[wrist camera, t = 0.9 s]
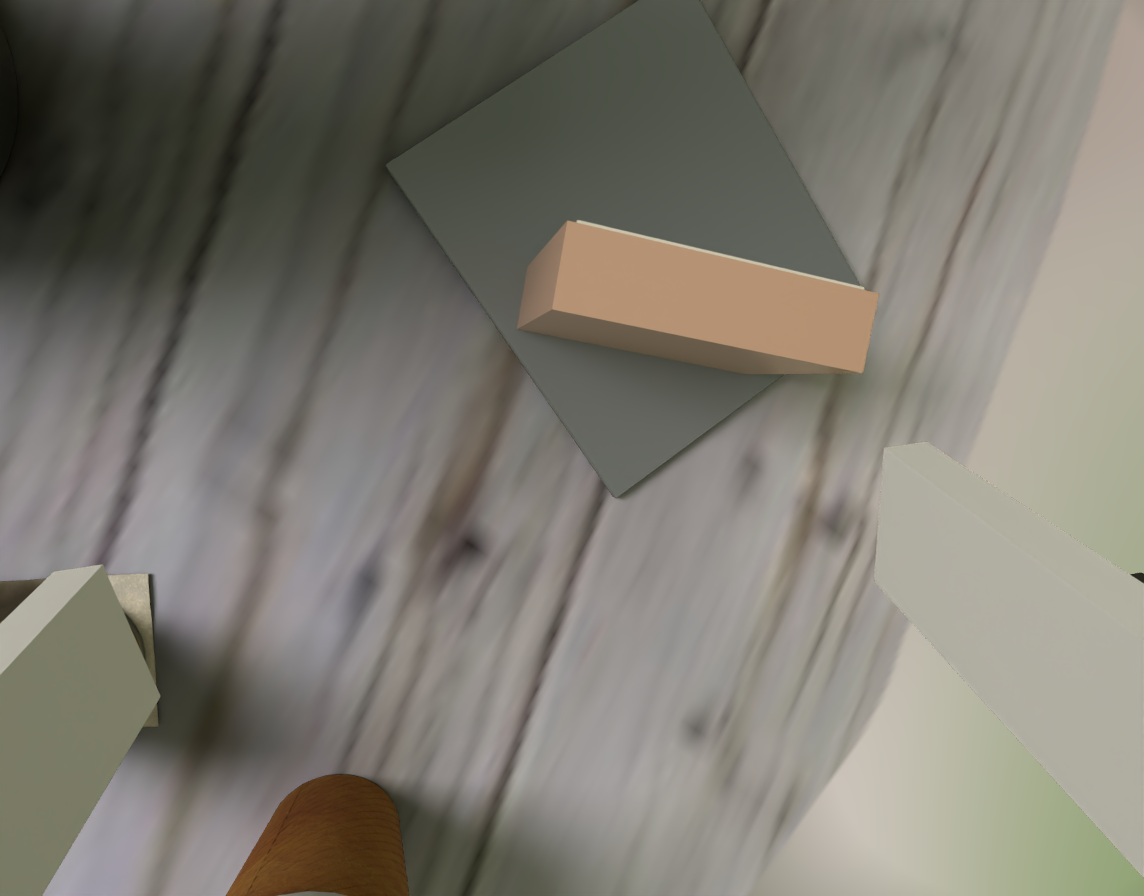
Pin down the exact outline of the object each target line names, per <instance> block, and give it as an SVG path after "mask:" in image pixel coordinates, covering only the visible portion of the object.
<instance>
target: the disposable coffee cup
mask: <svg viewBox="0 0 1144 896" xmlns="http://www.w3.org/2000/svg"><path fill="white" fill-rule="evenodd" d="M402 846H403V845H402V840H401V832H400V820H399V816H398V813H397V809H396V807H395V805H394V803H393V802H392V800H391V798H390V797H389V796H388V795H387V794H386V793H385V791H384V790H382V789H381V788H380V787H378V786H377V785H376V784H375V783H373V782H370V781H368V780H366V779H364V778H360V777H356V776H352V775H327V776H323V777H320V778H316V779H313V780H311V781H308V782H306V783H304V784H302V785H301V786H299V787H298V788H297V789H295V790H294V791H293V792H291V793H290V794H289V795H288V796H287V797H286V798H285V799H284V800H283V801H282V802H281V803H280V805H279V806H278V808H277V809H276V811H275V813H274V814H273V816H272V818H271V820H270V822H269V823H268V825H267V827H266V828H265V830H264V832H263V833H262V835H261V837H260V839H259V840H258V842H257V844H256V845H255V847H254V849H253V850H252V852H251V854H250V855H249V857H248V859H247V861H246V862H245V864H244V866H243V867H242V869H241V871H240V872H239V874H238V876H237V878H236V879H235V881H234V883H233V884H232V886H231V888H230V890H229V891H228V893H227V894H226V896H409V889H408V884H407V876H406V867H405V860H404V852H403V848H402Z"/></svg>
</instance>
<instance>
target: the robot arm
mask: <svg viewBox="0 0 1144 896" xmlns="http://www.w3.org/2000/svg"><path fill="white" fill-rule="evenodd" d="M17 116H18V92H17V82H16V74H15V69H14V64H13V59H12V56H11V52H10V49H9V45H8V43H7V40H6V37H5V34H4V32H3V29H2V27H1V25H0V177H1V175H2V173H3V171H4V168H5V166H6V163H7V161H8V159H9V156H10V152H11V149H12V146H13V142H14V137H15V132H16V125H17ZM874 582H875V583H876V584H877V585H878V586H879V587H880V588H881V590H882V591H883V592H884V593H885V594H886V595H887V596H888V597H889V598H890V599H891V601H892V602H893V603H894V604H895V605H896V606H897V607H898V608H899V609H900V610H901V612H902V613H903V614H904V615H905V616H906V617H907V618H908V619H909V620H910V621H911V623H912V624H913V625H914V626H915V627H916V628H917V629H918V630H919V631H920V632H921V634H922V635H923V636H924V637H925V638H926V639H927V640H928V641H929V642H930V643H931V645H932V646H933V647H934V648H935V649H936V650H937V651H938V652H939V653H940V654H941V655H942V656H943V658H944V659H945V660H946V661H947V662H948V663H949V664H950V665H951V667H952V668H953V669H954V670H955V671H956V672H957V673H958V674H959V675H960V676H961V677H962V679H963V680H964V681H965V682H966V683H967V684H968V685H969V686H970V687H971V688H972V690H973V691H974V692H975V693H976V694H977V695H978V696H979V697H980V698H981V700H982V701H983V702H984V703H985V704H986V705H987V706H988V707H989V708H990V709H991V711H992V712H993V713H994V714H995V715H996V716H997V717H998V718H999V719H1000V720H1001V721H1002V723H1003V724H1004V725H1005V726H1006V727H1007V728H1008V729H1009V730H1010V731H1011V733H1013V735H1014V736H1015V737H1016V738H1017V739H1018V740H1019V741H1020V742H1021V744H1022V745H1023V746H1024V747H1025V748H1026V749H1027V750H1028V751H1029V752H1030V753H1031V755H1032V756H1033V757H1034V758H1035V759H1036V760H1037V761H1038V762H1039V763H1040V764H1041V765H1042V767H1043V768H1044V769H1045V770H1046V771H1047V772H1048V773H1049V774H1050V775H1051V777H1053V779H1054V780H1055V781H1056V782H1057V783H1058V784H1059V785H1060V786H1061V788H1062V789H1063V790H1064V791H1065V792H1066V793H1067V794H1068V795H1069V796H1070V797H1071V799H1072V800H1073V801H1074V802H1075V803H1076V804H1077V805H1078V806H1079V807H1080V808H1081V810H1083V812H1084V813H1085V814H1086V815H1087V816H1088V817H1089V818H1090V819H1091V820H1092V822H1093V823H1094V824H1095V825H1096V826H1097V827H1098V828H1099V829H1100V830H1101V831H1102V833H1103V834H1104V835H1105V836H1106V837H1107V838H1108V839H1109V840H1110V841H1111V843H1112V844H1113V845H1114V846H1115V847H1116V848H1117V849H1118V850H1119V851H1120V852H1121V854H1122V855H1123V856H1124V857H1125V858H1126V859H1127V860H1128V861H1129V862H1130V863H1131V865H1132V866H1133V867H1134V868H1135V869H1136V870H1137V871H1138V872H1139V873H1140V874H1141V875H1142V877H1143V878H1144V574H1143V573H1135V574H1128V573H1127V572H1125V571H1124V570H1122V569H1121V568H1119V567H1118V566H1116V565H1115V564H1113V563H1111V562H1110V561H1108V560H1107V559H1105V558H1104V557H1102V556H1101V555H1099V554H1098V553H1096V552H1095V551H1093V550H1092V549H1090V548H1089V547H1087V546H1085V545H1084V544H1082V543H1081V542H1079V541H1078V540H1076V539H1075V538H1073V537H1072V536H1070V535H1069V534H1067V533H1065V532H1064V531H1063V530H1061V529H1059V528H1058V527H1056V526H1055V525H1053V524H1052V523H1050V522H1049V521H1047V520H1046V519H1044V518H1043V517H1041V516H1040V515H1038V514H1036V513H1035V512H1033V511H1032V510H1030V509H1029V508H1027V507H1026V506H1024V505H1023V504H1021V503H1020V502H1018V501H1017V500H1015V499H1014V498H1012V497H1010V496H1009V495H1007V494H1006V493H1004V492H1003V491H1001V490H1000V489H998V488H997V487H995V486H993V485H992V484H990V483H989V482H988V481H986V480H984V479H983V478H981V477H980V476H978V475H977V474H975V473H974V472H972V471H971V470H969V469H968V468H966V467H965V466H963V465H961V464H960V463H958V462H957V461H955V460H954V459H952V458H951V457H949V456H948V455H946V454H945V453H943V452H942V451H940V450H939V449H937V448H935V447H934V446H932V445H931V444H929V443H928V442H920V443H913V444H906V445H900V446H893V447H886V448H884V454H883V468H882V481H881V494H880V507H879V521H878V534H877V547H876V560H875V573H874ZM160 697H161V696H160V694H159V692H158V689H157V687H156V685H155V682H154V680H153V678H152V676H151V673H150V671H149V669H148V667H147V664H146V662H145V660H144V657H143V655H142V653H141V651H140V648H139V646H138V644H137V642H136V639H135V637H134V635H133V632H132V630H131V628H130V626H129V623H128V621H127V619H126V616H125V614H124V612H123V610H122V607H121V605H120V603H119V601H118V598H117V596H116V594H115V591H114V589H113V587H112V585H111V582H110V580H109V578H108V576H107V573H106V571H105V569H104V566H103V565H96V566H89V567H83V568H76V569H69V570H63V571H56V572H53V573H52V574H51V575H50V576H49V577H48V578H47V579H46V580H45V581H44V582H43V583H42V584H41V585H39V586H38V587H37V588H36V589H35V590H34V591H33V592H32V593H31V594H30V595H29V596H28V597H27V598H26V599H25V600H24V601H23V602H22V603H21V604H20V605H19V606H18V607H17V608H16V609H15V610H14V611H13V612H12V613H11V614H10V615H9V616H8V617H7V618H6V619H5V620H3V621H2V622H1V623H0V896H42V895H43V893H44V891H45V890H46V888H47V886H48V885H49V883H50V881H51V880H52V878H53V876H54V875H55V873H56V871H57V870H58V868H59V866H60V865H61V863H62V861H63V860H64V858H65V856H66V854H67V853H68V851H69V849H70V848H71V846H72V844H73V843H74V841H75V839H76V838H77V836H78V834H79V833H80V831H81V829H82V828H83V826H84V824H85V823H86V821H87V819H88V818H89V816H90V814H91V813H92V811H93V809H94V807H95V806H96V804H97V802H98V801H99V799H100V797H101V796H102V794H103V792H104V791H105V789H106V787H107V786H108V784H109V782H110V781H111V779H112V777H113V776H114V774H115V772H116V771H117V769H118V767H119V766H120V764H121V762H122V760H123V759H124V757H125V755H126V754H127V752H128V750H129V749H130V747H131V745H132V744H133V742H134V740H135V739H136V737H137V735H138V734H139V732H140V730H141V729H142V727H143V725H144V724H145V722H146V720H147V719H148V717H149V715H150V714H151V712H152V710H153V708H154V707H155V705H156V703H157V702H158V700H159V698H160Z"/></svg>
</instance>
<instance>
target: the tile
mask: <svg viewBox="0 0 1144 896" xmlns="http://www.w3.org/2000/svg"><path fill="white" fill-rule="evenodd" d="M878 297H879V293H875V292H871V291H867V290H864V287H861V286H857V285H853V284H849V283H844V282H840V281H836V280H832V279H827V278H823V277H819V276H815V275H810V274H806V273H802V272H798V271H793V270H789V269H785V268H780V267H776V266H772V265H768V264H763V263H759V262H755V261H751V260H746V259H742V258H738V257H734V256H729V255H725V254H721V253H717V252H712V251H708V250H704V249H700V248H695V247H691V246H687V245H683V244H678V243H674V242H670V241H666V240H661V239H657V238H653V237H649V236H644V235H640V234H636V233H632V232H627V231H623V230H619V229H615V228H610V227H606V226H602V225H598V224H593V223H589V222H585V221H580V220H577V221H576V222H572V221H568V220H567V222H566V223H565V224H564V225H563V226H562V227H561V228H560V230H559V231H558V232H557V233H556V234H555V235H554V236H553V238H552V239H551V240H550V241H549V242H548V243H547V245H546V246H545V247H544V248H543V249H542V250H541V251H540V253H539V254H538V255H537V256H536V257H535V258H534V259H533V261H532V262H531V263H530V264H529V265H528V266H527V272H526V278H525V284H524V290H523V296H522V301H521V307H520V313H519V319H518V325H517V329H519V330H524V331H529V332H534V333H539V334H544V335H549V336H554V337H559V338H564V339H569V340H574V341H579V342H584V343H589V344H595V345H600V346H605V347H610V348H615V349H620V350H625V351H630V352H635V353H640V354H645V355H650V356H655V357H660V358H665V359H671V360H676V361H681V362H686V363H691V364H696V365H701V366H706V367H711V368H716V369H721V370H726V371H731V372H736V373H741V374H837V373H863V371H864V366H865V361H866V356H867V351H868V346H869V341H870V336H871V331H872V326H873V321H874V317H875V312H876V307H877V302H878Z"/></svg>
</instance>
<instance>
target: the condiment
mask: <svg viewBox="0 0 1144 896" xmlns="http://www.w3.org/2000/svg"><path fill="white" fill-rule="evenodd" d="M107 576H108V578H109V580H110V582H111V585H112V587H113V589H114V591H115V594H116V596H117V598H118V601H119V603H120V605H121V607H122V610H123V612H124V614H125V616H126V619H127V621H128V623H129V626H130V628H131V630H132V632H133V635H134V637H135V639H136V642H137V644H138V646H139V648H140V651H141V653H142V655H143V657H144V660H145V662H146V664H147V667H148V669H149V671H150V673H151V676H152V678H153V680H154V682H155V685H156V672H155V655H154V644H153V629H152V618H151V609H150V598H149V584H148V573H146V574H126V575H107ZM45 580H46V579H35V580H25V581H2V582H0V623H1V622H2V621H3V620H5V619H6V618H7V617H8V616H9V615H10V614H11V613H12V612H13V611H14V610H15V609H16V608H17V607H18V606H19V605H20V604H21V603H22V602H23V601H24V600H25V599H26V598H27V597H28V596H29V595H30V594H31V593H32V592H33V591H34V590H35V589H36V588H37V587H38V586H39V585H41V584H42V583H43V582H44V581H45ZM143 727H158V711H157V703H156V705H155V707H154V708H153V710H152V712H151V714H150V715H149V717H148V719H147V720H146V722H145V724H144V725H143Z"/></svg>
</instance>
